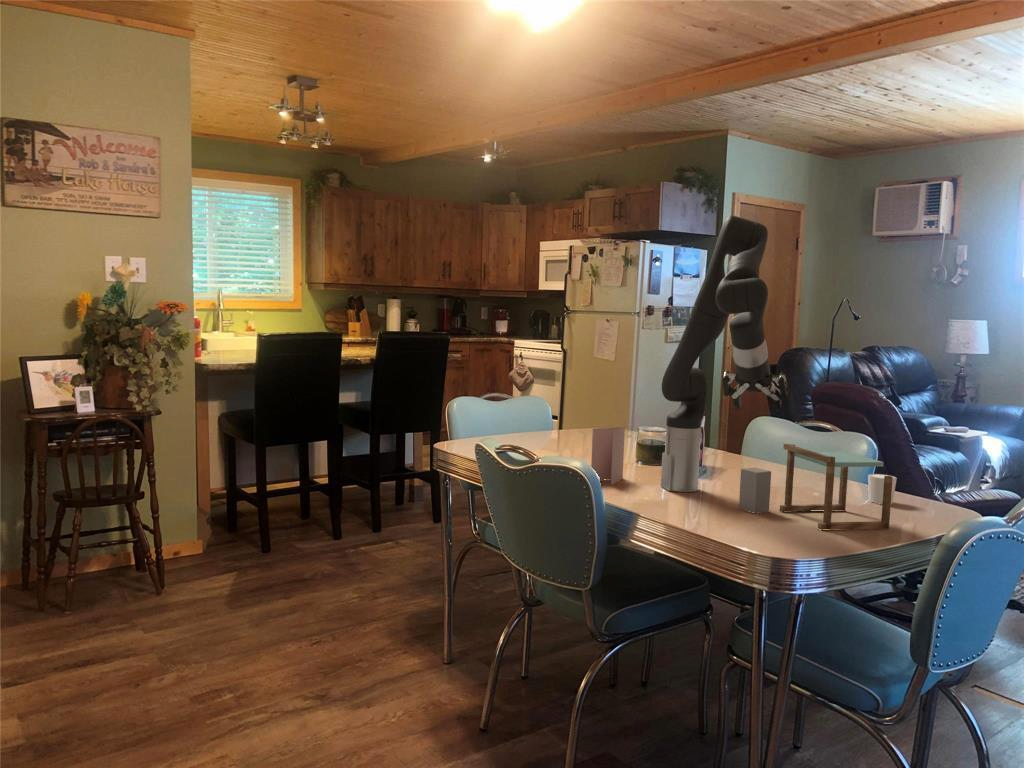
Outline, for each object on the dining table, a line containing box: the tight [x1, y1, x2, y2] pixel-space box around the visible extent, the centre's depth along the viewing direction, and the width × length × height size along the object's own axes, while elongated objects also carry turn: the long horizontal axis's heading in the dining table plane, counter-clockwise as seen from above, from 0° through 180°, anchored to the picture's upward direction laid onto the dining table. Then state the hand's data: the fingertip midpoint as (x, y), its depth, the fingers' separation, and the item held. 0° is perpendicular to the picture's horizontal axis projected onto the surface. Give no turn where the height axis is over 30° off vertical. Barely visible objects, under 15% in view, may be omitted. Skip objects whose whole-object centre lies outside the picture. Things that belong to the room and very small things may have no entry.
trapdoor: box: [794, 451, 885, 468], centre depth 181 cm, size 14×14×1 cm
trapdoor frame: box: [779, 443, 893, 531], centre depth 182 cm, size 17×18×17 cm
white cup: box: [867, 473, 898, 505], centre depth 202 cm, size 7×7×7 cm
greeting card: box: [590, 426, 626, 486], centre depth 218 cm, size 11×7×15 cm, turn 121°
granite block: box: [738, 467, 772, 514], centre depth 189 cm, size 5×5×10 cm
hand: (757, 407), depth 183 cm, fingers open, 8 cm apart
